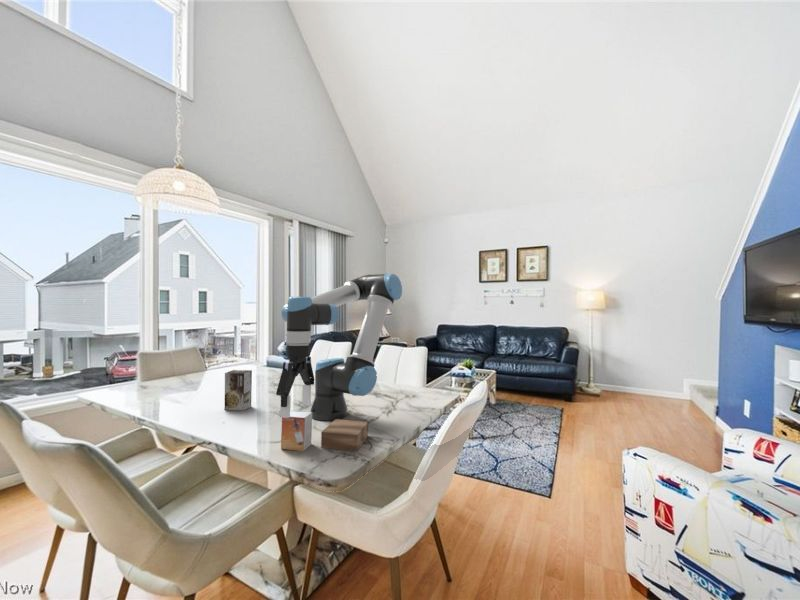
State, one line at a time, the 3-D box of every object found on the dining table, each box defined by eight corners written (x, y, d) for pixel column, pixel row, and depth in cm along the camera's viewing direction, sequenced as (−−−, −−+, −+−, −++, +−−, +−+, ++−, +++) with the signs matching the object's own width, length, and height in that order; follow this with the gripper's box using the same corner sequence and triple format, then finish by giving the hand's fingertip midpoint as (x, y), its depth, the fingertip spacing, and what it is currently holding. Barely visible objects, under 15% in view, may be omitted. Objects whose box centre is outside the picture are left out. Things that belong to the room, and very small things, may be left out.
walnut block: (335, 433, 115) (335, 419, 115) (367, 436, 113) (368, 421, 113) (321, 447, 103) (321, 431, 103) (357, 451, 101) (357, 435, 101)
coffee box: (251, 406, 144) (252, 370, 144) (243, 411, 138) (244, 373, 138) (232, 405, 145) (233, 369, 145) (223, 410, 139) (224, 372, 139)
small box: (280, 449, 102) (281, 415, 102) (289, 442, 107) (289, 410, 107) (304, 451, 100) (304, 417, 101) (311, 444, 106) (312, 411, 106)
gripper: (305, 340, 117) (303, 399, 117) (265, 347, 93) (262, 422, 92) (325, 341, 116) (323, 400, 115) (288, 349, 91) (286, 424, 91)
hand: (296, 410), depth 104 cm, fingers open, 13 cm apart
